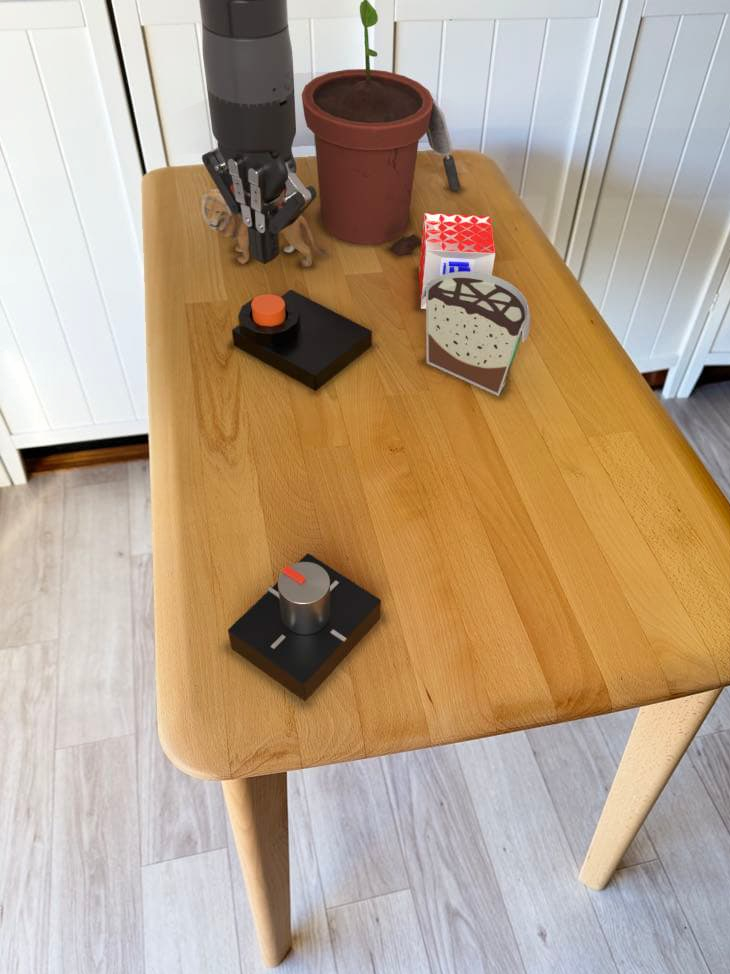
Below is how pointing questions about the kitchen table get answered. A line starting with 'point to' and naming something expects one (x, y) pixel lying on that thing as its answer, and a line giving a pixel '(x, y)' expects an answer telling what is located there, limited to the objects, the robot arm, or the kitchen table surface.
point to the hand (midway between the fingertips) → (265, 258)
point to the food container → (474, 327)
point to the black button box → (303, 340)
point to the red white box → (454, 246)
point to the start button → (268, 310)
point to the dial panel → (305, 656)
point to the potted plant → (372, 147)
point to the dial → (304, 597)
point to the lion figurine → (234, 226)
